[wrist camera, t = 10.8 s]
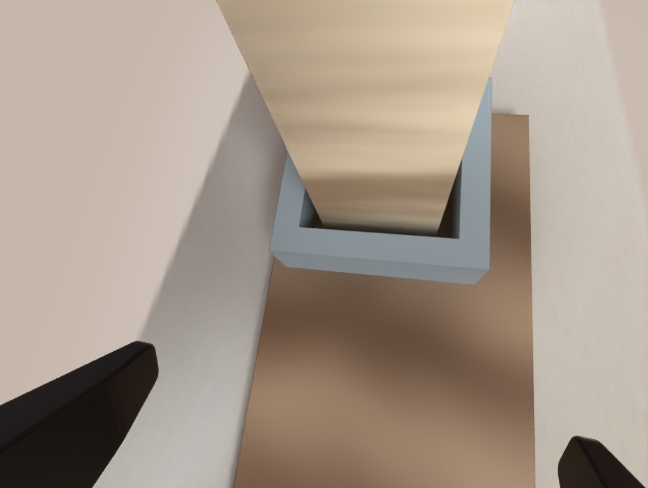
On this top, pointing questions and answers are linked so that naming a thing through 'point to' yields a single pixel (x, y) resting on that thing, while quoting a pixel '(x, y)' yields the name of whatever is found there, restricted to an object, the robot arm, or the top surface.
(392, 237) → the slate socket block
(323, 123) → the beech pillar
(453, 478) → the tan flat plate
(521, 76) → the top surface
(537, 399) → the top surface
